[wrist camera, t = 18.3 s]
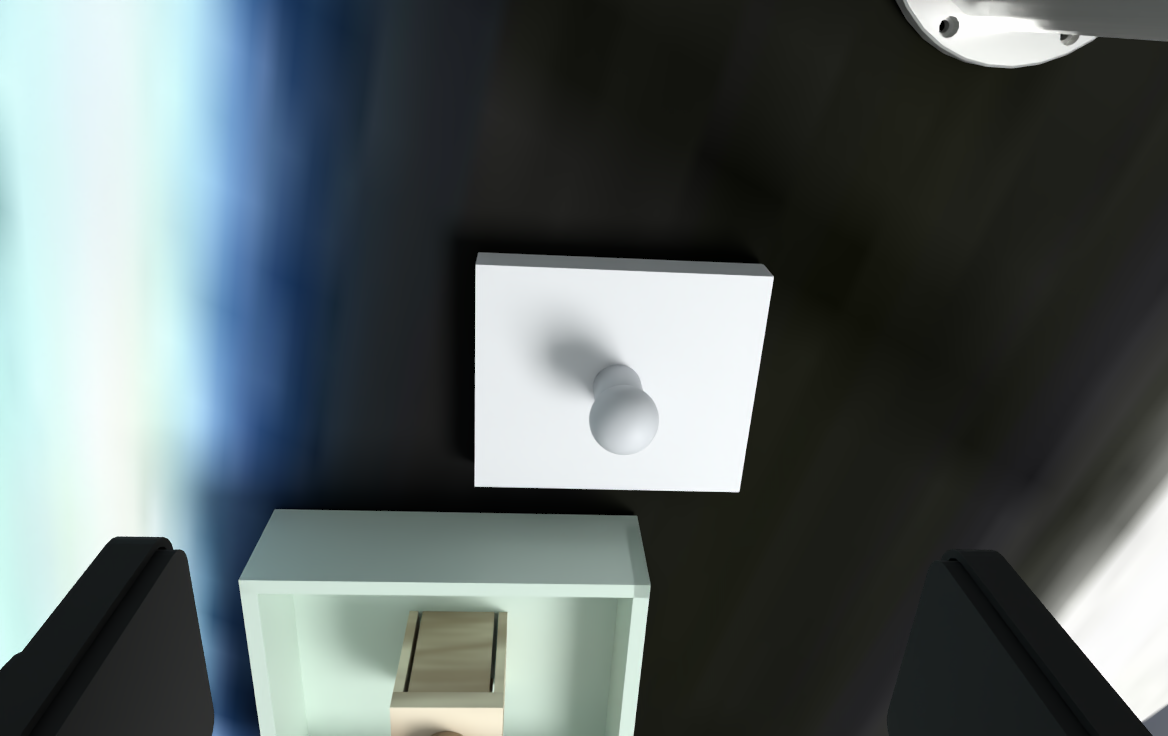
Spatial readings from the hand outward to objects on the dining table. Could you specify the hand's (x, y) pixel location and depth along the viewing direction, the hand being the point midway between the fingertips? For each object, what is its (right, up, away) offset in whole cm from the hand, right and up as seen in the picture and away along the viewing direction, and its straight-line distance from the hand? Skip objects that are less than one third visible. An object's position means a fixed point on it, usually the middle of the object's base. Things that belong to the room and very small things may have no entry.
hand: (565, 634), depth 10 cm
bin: (-7, -13, +39) cm, 41 cm away
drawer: (-7, -13, +38) cm, 41 cm away
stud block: (+2, +3, +32) cm, 32 cm away
